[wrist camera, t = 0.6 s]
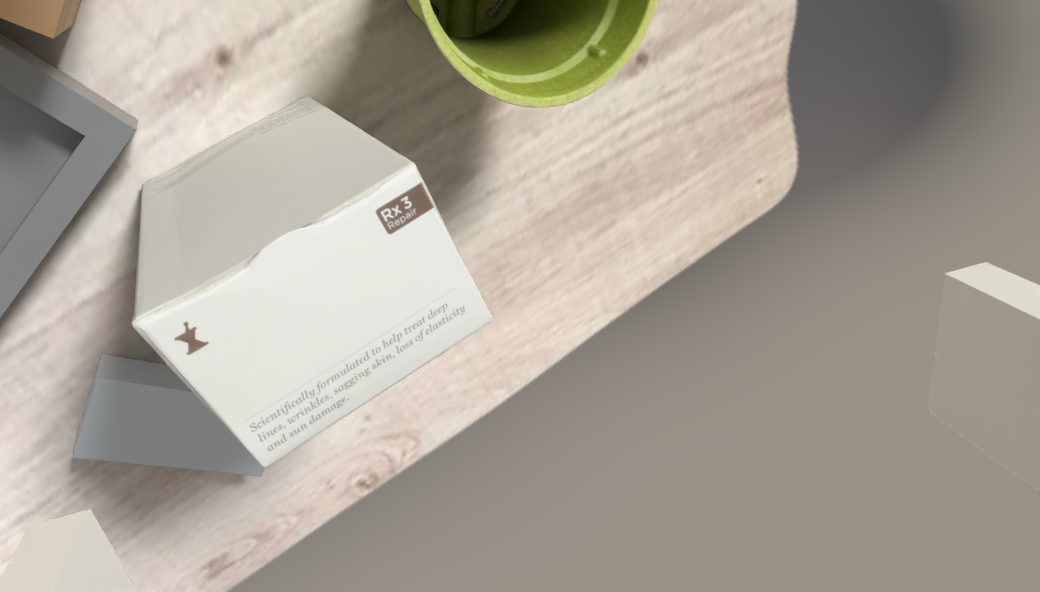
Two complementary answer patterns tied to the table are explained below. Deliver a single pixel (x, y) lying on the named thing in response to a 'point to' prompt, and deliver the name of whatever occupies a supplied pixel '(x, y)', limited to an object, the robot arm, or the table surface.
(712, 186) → the table surface
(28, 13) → the walnut block
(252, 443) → the skincare box
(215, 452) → the flat blue-grey brick
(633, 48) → the plant pot
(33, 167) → the tray
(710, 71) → the table surface
